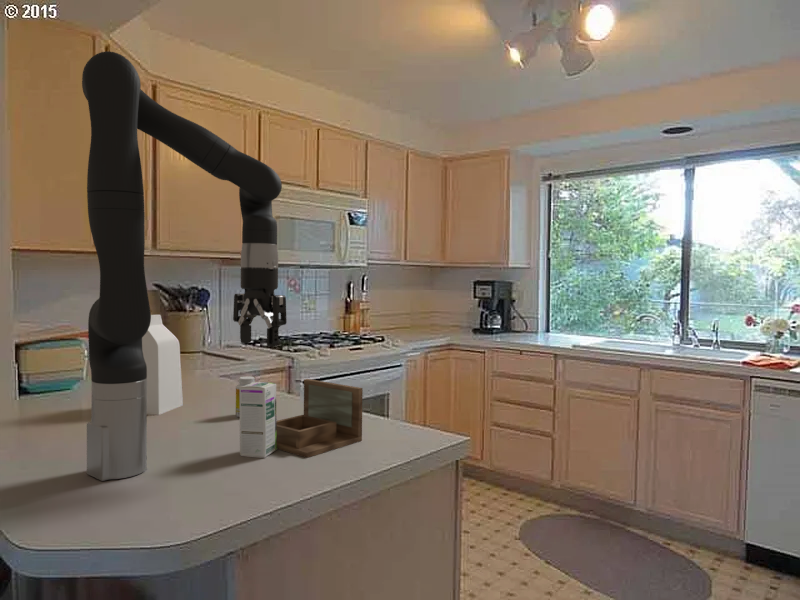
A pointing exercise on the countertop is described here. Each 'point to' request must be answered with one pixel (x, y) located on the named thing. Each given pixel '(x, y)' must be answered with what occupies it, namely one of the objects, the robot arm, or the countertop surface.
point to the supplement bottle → (242, 382)
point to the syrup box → (258, 419)
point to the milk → (162, 368)
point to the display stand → (323, 420)
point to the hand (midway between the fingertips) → (258, 344)
